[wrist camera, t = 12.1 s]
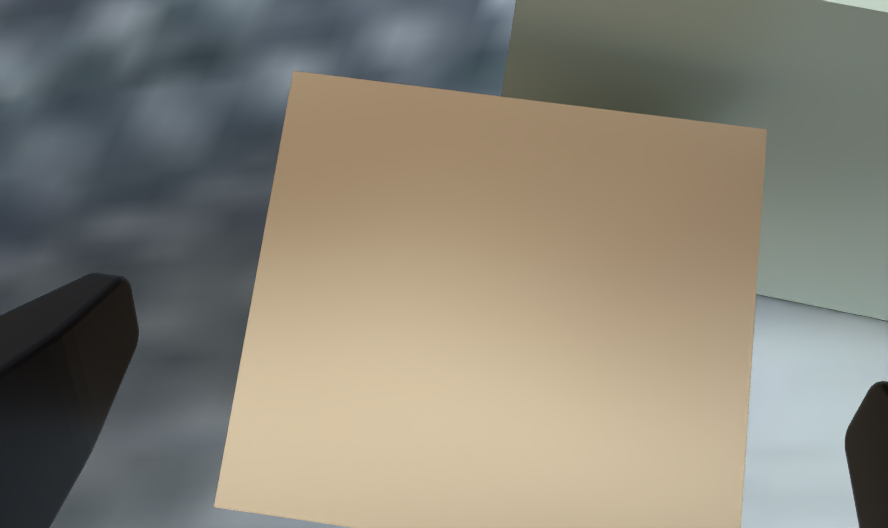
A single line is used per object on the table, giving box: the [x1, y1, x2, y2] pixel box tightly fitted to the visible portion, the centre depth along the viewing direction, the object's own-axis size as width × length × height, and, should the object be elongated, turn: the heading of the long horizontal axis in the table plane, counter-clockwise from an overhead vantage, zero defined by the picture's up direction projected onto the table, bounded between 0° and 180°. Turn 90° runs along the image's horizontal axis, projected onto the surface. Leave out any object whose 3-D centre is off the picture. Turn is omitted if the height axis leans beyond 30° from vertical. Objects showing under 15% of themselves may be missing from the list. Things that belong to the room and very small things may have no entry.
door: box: [502, 0, 888, 321], centre depth 13 cm, size 12×3×12 cm, turn 78°
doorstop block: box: [214, 71, 767, 528], centre depth 13 cm, size 4×5×11 cm
